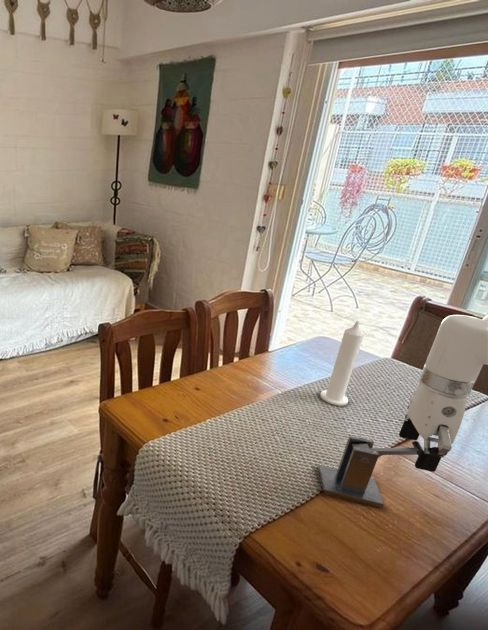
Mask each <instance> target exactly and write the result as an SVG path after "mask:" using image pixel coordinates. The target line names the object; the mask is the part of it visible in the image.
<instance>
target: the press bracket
mask: <svg viewBox="0 0 488 630" xmlns="http://www.w3.org/2000/svg"><path fill="white" fill-rule="evenodd" d="M352 444H368V446H369V448H374V447H373V446H374V444H375V442H374V440H373V439H369V438H365V437H360V436H354V435H349V436H348V439H347V441H346V444H345V448H344V451H343V453H342V455H341V459H340V462H339V465H338V467H337V468H335V467H330V466H325V465H321V464H319V465H318V467H317V471H318V476H319V480H320V484H321V489H322V493H323V495H327V496H331V497H335V498H339V499H343V500H347V501H351V502H355V503H359V504H364V505H367V506H371V507H376V508H380V509H383V508H384V506H385V503H384V500H383V497H382V495H381V493H380V490H379V487H378V484H377V481H376V480H375V477H372V476H373V472H374V470H375V467H376V464H377V462H378V459H379V457H380V455H379V454H378V452H375V451H370V450H366V449H361V448H356V447H353V448H352Z"/></svg>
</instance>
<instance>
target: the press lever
mask: <svg viewBox="0 0 488 630" xmlns="http://www.w3.org/2000/svg"><path fill="white" fill-rule="evenodd" d="M411 445H412V447H372V448H369V446H368V444H352V448H353V447H356V448H361V449H366V450H370V451H375V452H378V454H379V456H406V455H407V456H415V455H416V456H417V457H418V456H419V453H420V451H421V450H424V448H423V447H422V446H421V444H420V442H419V441H417V440H413V441H412V442H411Z"/></svg>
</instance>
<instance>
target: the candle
mask: <svg viewBox="0 0 488 630" xmlns="http://www.w3.org/2000/svg"><path fill="white" fill-rule="evenodd" d="M359 323H360V322H359V320H356V321H355V323H354V325H352V326H351V327H349V328H346V329H344V332H343V335H342V338H341V342H340V345H339V349H338V352H337V355H336V358H335V362H334V365H333V368H332V371H331V376H330V379H329V381H328V384H327V389H325V390H321V391H320V394H319V396H320V398H321V399H322V400H323V401H325V402H326V403H328V404H331V405H334V406H340V407H343V406H346V405H348V403H349V399H348V397H347V396H346V393H347V389H348V386H349V383H350V380H351V376H352V373H353V369H354V368H355V364H356V360H357V357H358V355H359V351H360V348H361V345H362V343H363V339H364V335H365V334H364V332H363V331H362V330H361V328H360V324H359Z"/></svg>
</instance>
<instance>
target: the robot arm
mask: <svg viewBox="0 0 488 630" xmlns="http://www.w3.org/2000/svg"><path fill="white" fill-rule="evenodd" d="M484 365H487V366H488V314H487V315H486V316H484V317H483V318H479V317H475V316H470V315H466V314H465V315H464V314H452V315H448V316H446V317H445V318H444V319H443V320H442V321H441V323H440V325H439V328H438V330H437V332H436V335H435V337H434V340H433V343H432V346H431V348H430V351H429V353H428V355H427V358H426V361H425V364H424V365H423V368H422V370H421V373H420V376H419V378H418V382H419V383H418V385H417V387H416V389H415V390H414V393H413V394H411V396H410V399H409V404H408V405H407V413H406V414H405V415H404V420H403V423H402V426H401V428H400V431H399V433H398V437H399V438H402V439H407V440H412V441H417V440H419V437H421V438H422V439H423V450H421V451H420V453H419V456H418V455H417V457H416V460H415V463H414V467H415V468H416V469H418V470H422V471H428V472H432V473H434V472H436V471H437V469H438V466H439V464H440V462H441V460H442V458H444V457H446V456H447V455H448V453H450V452H451V451H452V449H453V444H454V442H455V441H456V439H457V436H458V433H459V431H460V428H461V426H462V422H463V419H464V417H465V412H466V407H467V402H468V399H467V398H468V397H469V396H470V395H471V393H472V390H473V388H474V386H475V383H476V381H477V379H478V377H479V375H480V372H481V370H482V368H483V366H484ZM432 436H437V438H436V437H432ZM431 442H433V443H437V446H432V447H431Z"/></svg>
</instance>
